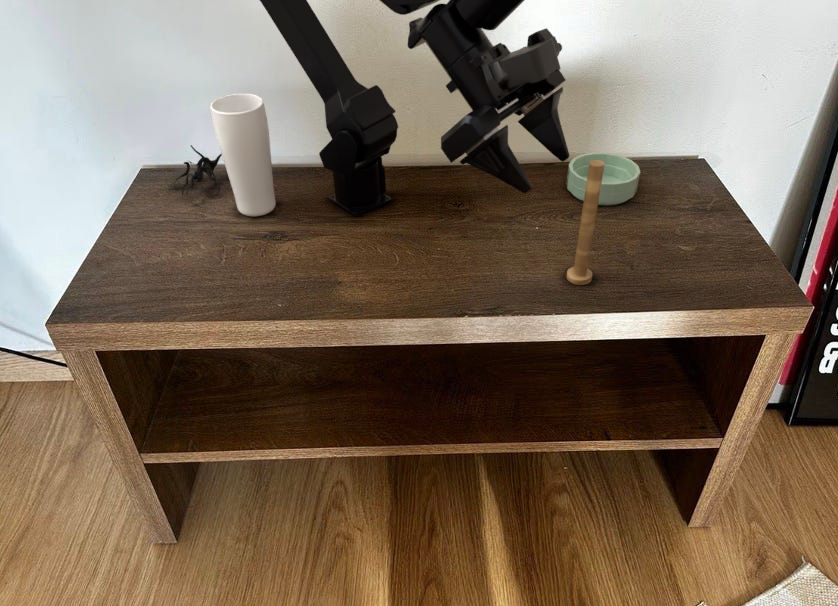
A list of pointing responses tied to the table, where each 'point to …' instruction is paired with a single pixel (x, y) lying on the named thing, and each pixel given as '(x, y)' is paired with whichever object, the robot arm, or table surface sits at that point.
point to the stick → (587, 225)
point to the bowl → (605, 177)
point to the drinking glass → (245, 151)
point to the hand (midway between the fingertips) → (548, 174)
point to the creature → (200, 171)
